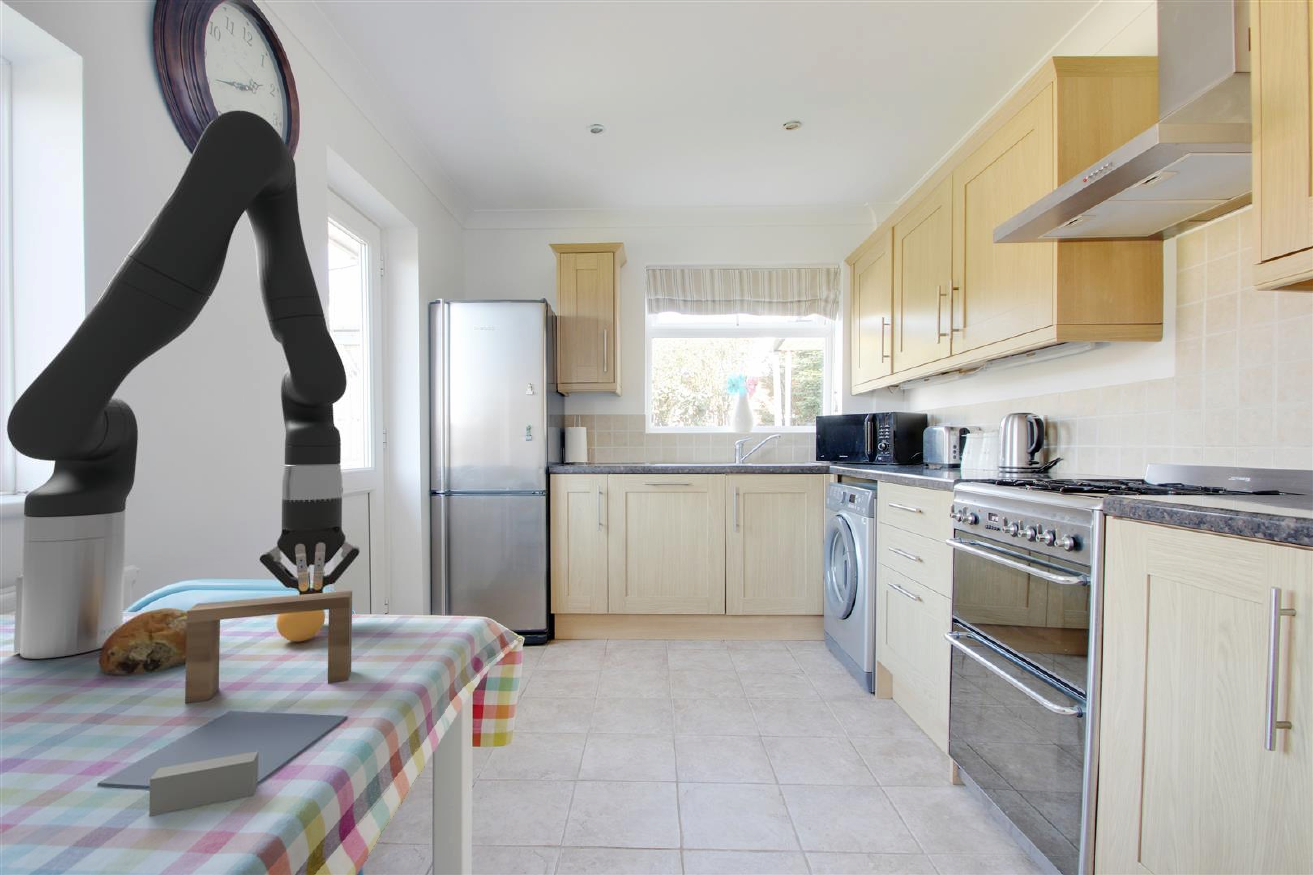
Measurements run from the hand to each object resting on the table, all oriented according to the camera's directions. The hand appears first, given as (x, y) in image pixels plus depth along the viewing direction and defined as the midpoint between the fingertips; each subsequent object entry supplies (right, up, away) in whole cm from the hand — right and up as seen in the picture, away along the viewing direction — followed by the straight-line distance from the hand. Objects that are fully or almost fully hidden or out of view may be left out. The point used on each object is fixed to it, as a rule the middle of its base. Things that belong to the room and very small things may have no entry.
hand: (311, 614), depth 83 cm
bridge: (+9, -1, -21) cm, 23 cm away
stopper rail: (+17, -1, -41) cm, 45 cm away
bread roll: (-10, -2, -14) cm, 17 cm away
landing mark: (+14, -1, -34) cm, 37 cm away
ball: (+3, +1, -7) cm, 7 cm away
